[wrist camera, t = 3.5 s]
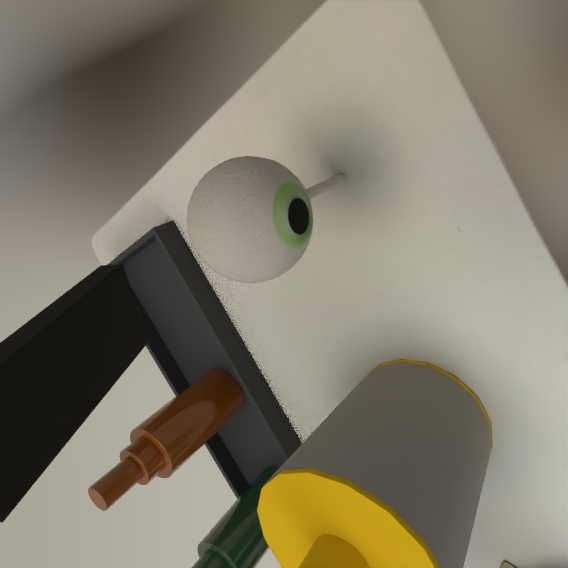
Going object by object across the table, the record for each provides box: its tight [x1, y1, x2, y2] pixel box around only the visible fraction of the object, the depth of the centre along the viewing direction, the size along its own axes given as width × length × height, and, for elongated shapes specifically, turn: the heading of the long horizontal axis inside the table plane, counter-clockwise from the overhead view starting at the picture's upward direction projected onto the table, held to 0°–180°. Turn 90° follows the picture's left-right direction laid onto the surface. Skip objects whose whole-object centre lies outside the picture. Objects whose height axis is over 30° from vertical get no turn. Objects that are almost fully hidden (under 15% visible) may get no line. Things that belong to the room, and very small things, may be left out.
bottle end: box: [192, 466, 279, 568], centre depth 48 cm, size 6×6×17 cm
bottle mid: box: [88, 368, 244, 511], centre depth 46 cm, size 6×6×17 cm
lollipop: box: [187, 156, 346, 283], centre depth 30 cm, size 7×7×15 cm
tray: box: [108, 221, 302, 499], centre depth 52 cm, size 37×12×3 cm, turn 36°
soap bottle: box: [257, 359, 492, 568], centre depth 32 cm, size 13×13×21 cm
